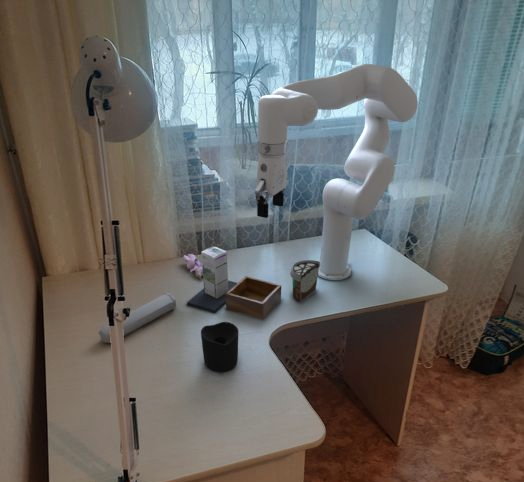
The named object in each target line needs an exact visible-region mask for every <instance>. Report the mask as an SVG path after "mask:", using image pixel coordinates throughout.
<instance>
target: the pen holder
mask: <svg viewBox="0 0 524 482" xmlns="http://www.w3.org/2000/svg"><path fill="white" fill-rule="evenodd" d="M200 337H201V339H200V340H201V347H202V355H203V362H204V366H205V368H207V369H208V370H210V371H211V372H214V373H226V372H230V371H232V370H233V369H234V368H235V367H236V366H237V365H238V361H239V357H238V356H239V328H238V326H237V325H235V324H234V323H232V322H229V321H221V322H218V323H215V324H209V325H204V326H203V327H202V328H201V330H200Z"/></svg>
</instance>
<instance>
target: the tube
mask: <svg viewBox="0 0 524 482" xmlns="http://www.w3.org/2000/svg"><path fill="white" fill-rule="evenodd" d="M176 307H177V300H176V299H175V298H174V296H173V294H171V293H169V292H167V291H165V292H164V294H162V295H160V296H158V297H156V298H154V299H152V300H150V301H149V302H147V303H145V304H142V305H141V306H139V307H137V308H135V309H133V310H131V311H130V312H131V313H130V316H129V318H128V319H127V320H126V321H125V322H124V324H123V329H124V336H123V337H126V336H127V335H128V334H130V333H132V332H134V331H136V330H138V329H140V328H141V327H143V326H145V325H146V324H147V325H148V324H149V323H151V322H152V321H155V320H156V319H158V318H160V317H161V316H164V315H165V314H166V313H169V312H170V311H174V310H175V309H176ZM98 335H99V338H100V339H101V341H102V342H103V343H106V344H111V343H110V334H109V326H108V323H107V324H105V325H102V327H101V328H100V330H99V331H98Z"/></svg>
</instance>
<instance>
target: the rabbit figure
mask: <svg viewBox="0 0 524 482" xmlns="http://www.w3.org/2000/svg"><path fill="white" fill-rule="evenodd" d="M182 257H183V260H184V261H185V262H186V268H187V269H188V270H189V274H191V273H192V272H195V276H196V278H198V279H199V280H200V281H201V280H203V278H202V277H203V267H202V262H200V260H199V259H198V257H197V256H196V255H195V254H193V253H188V254H184V255H183V256H182Z"/></svg>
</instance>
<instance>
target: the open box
mask: <svg viewBox="0 0 524 482" xmlns="http://www.w3.org/2000/svg"><path fill="white" fill-rule="evenodd" d="M236 283H237V284H236V285H235V286H234V287H233V288H231V289H230V290H229V291H228V292H227V293H226V304H225V309H226V310H228V311H232V312H236V313H238V314H242V315H246V316H249V317H251V318H252V317H253V318H255V319H260V320H264V319H265V318H266V317H267V316H268V315H269V314H270V312H271V311H273V309H274V308H275V307H276V306H277V305H278V304H279V302H281V300H282V284H278V283H275V282H271V281H267V280H263V279H258V278H255V277H252V276H249V275H245V276H244V277H243V278H241V279H240V281H238V282H236Z"/></svg>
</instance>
